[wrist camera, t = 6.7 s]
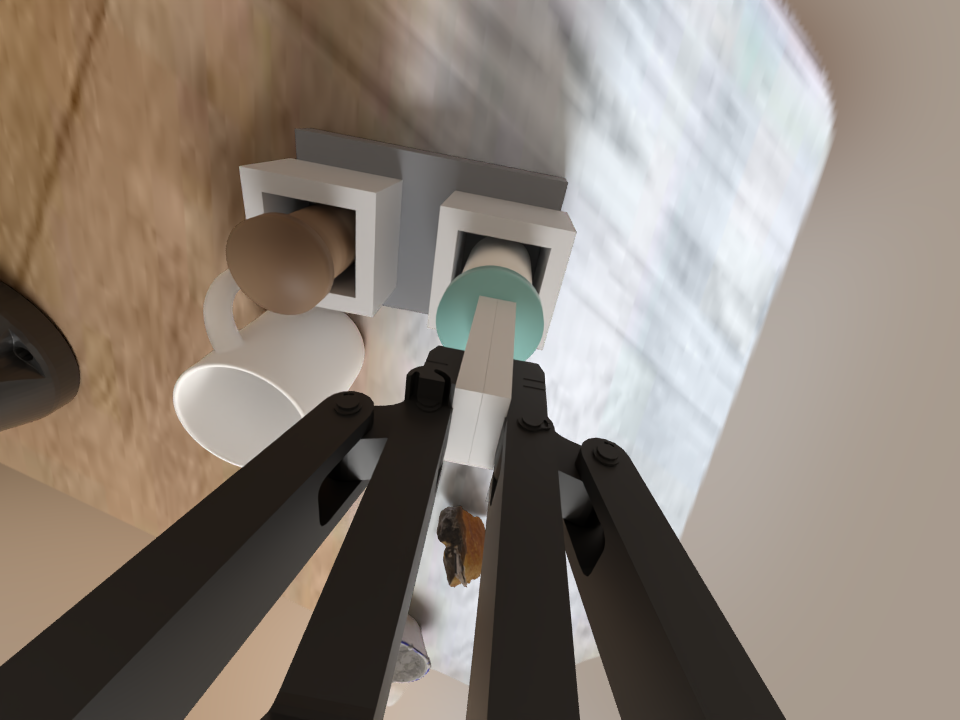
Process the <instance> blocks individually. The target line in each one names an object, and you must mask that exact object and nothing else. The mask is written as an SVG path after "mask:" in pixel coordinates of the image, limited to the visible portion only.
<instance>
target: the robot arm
mask: <svg viewBox="0 0 960 720" xmlns="http://www.w3.org/2000/svg"><path fill="white" fill-rule="evenodd" d="M515 319H516V303H515V302H510V301H505V300H500V299H495V298H490V297H485V296H479V300H478V303H477V307H476V311H475V315H474V318H473V322H472V326H471V330H470V333H469V337H468V341H467V345H466V348H465V351H464V350H459V349H454V348H449V347H444V346H437V347H436V348H434V349H433V350H431V351H430V352H429V355H428V357H427V359H426V362H425V364H424V366H420V367H416V368H414V369H412V370H410V372H409V373H408V374H407V377H406V389H405V400H404V401H403V402H401V403H398V404H395V405H387V406H374V402H373V401H372V400H371V398H370V397H368V396H367V395H365V394H363V393H359V392H355V391H343V392H339V393H335V394H333V395H331V396H329V397H327V398H326V399H325V400H323V401H322V402H321V403H320V404H319V405H317V406H316V407H315V408H314V409H313V410H311V411H310V412H309V413H308V414H306V415H305V416H304V417H303V418H302V419H300V420H299V421H298V422H297V423H296V424H294V425H293V426H292V427H291V428H289V429H288V430H287V431H286V432H285V433H283V434H282V435H281V436H280V437H279V438H277V439H276V440H275V441H274V442H272V443H271V444H270V445H269V446H268V447H266V448H265V449H264V450H263V451H262V452H260V453H259V454H258V455H257V456H255V457H254V458H253V459H252V460H251V461H249V462H248V463H247V464H246V465H245V466H243V467H242V468H241V469H240V470H238V471H237V472H236V473H235V474H234V475H232V476H231V477H230V478H229V479H227V480H226V481H225V482H224V483H223V484H221V485H220V486H219V487H218V488H217V489H215V490H214V491H213V492H212V493H210V494H209V495H208V496H207V497H206V498H204V499H203V500H202V501H201V502H200V503H198V504H197V505H196V506H195V507H193V508H192V509H191V510H190V511H189V512H187V513H186V514H185V515H184V516H183V517H181V518H180V519H179V520H178V521H176V522H175V523H174V524H173V525H172V526H170V527H169V528H168V529H167V530H166V531H164V532H163V533H162V534H161V535H159V536H158V537H157V538H156V539H155V540H154V541H152V542H151V543H150V544H149V545H147V546H146V547H145V548H144V549H142V550H141V551H140V552H139V553H138V554H136V555H135V556H134V557H133V558H132V559H130V560H129V561H128V562H127V563H125V564H124V565H123V566H122V567H121V568H120V569H118V570H117V571H116V572H115V573H113V574H112V575H111V576H110V577H108V578H107V579H106V580H105V581H104V582H102V583H101V584H100V585H99V586H98V587H96V588H95V589H94V590H93V591H92V592H90V593H89V594H88V595H87V596H85V597H84V598H83V599H82V600H81V601H79V602H78V603H77V604H76V605H74V607H72V608H71V609H70V610H68V611H67V612H66V613H65V614H63V615H62V616H61V617H60V618H59V619H57V620H56V621H55V622H54V623H53V624H51V625H50V626H49V627H48V628H46V629H45V630H44V631H43V632H42V633H40V634H39V635H38V636H37V637H36V638H34V639H33V640H32V641H31V642H29V643H28V644H27V645H26V646H25V647H23V648H22V649H21V650H20V651H19V652H17V653H16V654H15V655H14V656H13V657H11V658H10V659H9V660H8V661H6V662H5V663H4V664H3V665H2V666H0V720H184V718H185V717H186V716H187V715H188V713H189V712H190V711H191V709H192V708H193V707H194V706H195V704H196V703H197V702H198V701H199V699H200V698H201V697H202V696H203V694H204V693H205V692H206V690H207V689H208V688H209V687H210V685H211V684H212V683H213V681H214V680H215V679H216V678H217V676H218V675H219V674H220V673H221V671H222V670H223V669H224V667H225V666H226V665H227V664H228V662H229V661H230V660H231V658H232V657H233V656H234V655H235V653H236V652H237V651H238V650H239V648H240V647H241V646H242V644H243V643H244V642H245V641H246V639H247V638H248V637H249V636H250V634H251V633H252V632H253V631H254V629H255V628H256V627H257V625H258V624H259V623H260V622H261V620H262V619H263V618H264V616H265V615H266V614H267V613H268V611H269V610H270V609H271V608H272V606H273V605H274V604H275V603H276V601H277V600H278V599H279V597H280V596H281V595H282V594H283V592H284V591H285V590H286V588H287V587H288V586H289V585H290V583H291V582H292V581H293V580H294V578H295V577H296V576H297V574H298V573H299V572H300V571H301V569H302V568H303V567H304V566H305V564H306V563H307V562H308V560H309V559H310V558H311V557H312V555H313V554H314V553H315V552H316V550H317V549H318V548H319V546H320V545H321V544H322V543H323V541H324V540H325V539H326V538H327V536H328V535H329V534H330V532H331V531H332V530H333V529H334V527H335V526H336V525H337V524H338V522H339V521H340V520H341V518H342V517H343V516H344V515H345V513H346V512H347V511H348V510H349V508H350V507H351V506H352V504H353V503H354V502H355V501H356V499H357V498H358V497H359V496H360V494H361V493H362V492H363V490H364V489H365V488H366V487H367V488H366V490H365V493H364V495H363V497H362V500H361V502H360V504H359V507H358V509H357V511H356V514H355V516H354V518H353V521H352V523H351V525H350V528H349V530H348V532H347V535H346V537H345V539H344V542H343V544H342V546H341V549H340V551H339V553H338V556H337V558H336V560H335V563H334V565H333V567H332V569H331V572H330V574H329V576H328V579H327V581H326V583H325V586H324V588H323V590H322V593H321V595H320V597H319V600H318V602H317V604H316V607H315V609H314V611H313V614H312V616H311V619H310V621H309V623H308V626H307V628H306V630H305V632H304V635H303V637H302V639H301V642H300V644H299V646H298V649H297V651H296V653H295V656H294V658H293V660H292V663H291V665H290V667H289V670H288V672H287V674H286V677H285V679H284V681H283V684H282V686H281V688H280V691H279V693H278V695H277V697H276V699H275V701H274V703H273V705H272V706H271V708H270V710H269V711H268V712H267V714H265V715H264V716H263V717H262V718H261V719H260V720H383V717H384V713H385V709H386V704H387V700H388V696H389V692H390V687H391V683H392V679H393V675H394V671H395V666H396V662H397V658H398V654H399V649H400V645H401V641H402V637H403V632H404V628H405V624H406V620H407V615H408V611H409V607H410V603H411V598H412V594H413V590H414V586H415V582H416V577H417V573H418V569H419V565H420V560H421V556H422V552H423V548H424V543H425V539H426V535H427V531H428V526H429V522H430V518H431V514H432V509H433V505H434V501H435V497H436V493H437V488H438V484H439V480H440V476H441V470H442V464H443V461H448V462H454V463H459V464H464V465H469V466H474V467H479V468H484V469H489V470H493V466H494V472H493V476H492V479H491V483H490V487H489V491H488V494H487V498H486V501H487V502H488V511H487V521H486V530H485V540H484V550H483V559H482V569H481V578H480V588H479V598H478V607H477V617H476V627H475V636H474V646H473V656H472V665H471V675H470V685H469V694H468V704H467V714H466V720H580V715H579V703H578V693H577V681H576V669H575V658H574V646H573V635H572V623H571V612H570V600H569V589H568V577H567V566H566V554H567V557H568V560H569V563H570V566H571V569H572V572H573V575H574V578H575V581H576V584H577V587H578V590H579V593H580V596H581V599H582V602H583V605H584V608H585V611H586V614H587V617H588V620H589V623H590V626H591V629H592V632H593V635H594V638H595V642H596V645H597V648H598V651H599V654H600V657H601V659H602V663H603V666H604V669H605V672H606V675H607V678H608V681H609V684H610V687H611V690H612V692H613V696H614V699H615V702H616V705H617V708H618V711H619V714H620V717H621V720H786V719H785V717H784V715H783V714H782V712H781V710H780V709H779V707H778V705H777V704H776V702H775V700H774V698H773V697H772V695H771V694H770V692H769V690H768V688H767V687H766V685H765V683H764V682H763V680H762V678H761V677H760V675H759V673H758V672H757V670H756V668H755V667H754V665H753V663H752V662H751V660H750V658H749V657H748V655H747V653H746V652H745V650H744V648H743V647H742V645H741V643H740V642H739V640H738V638H737V637H736V635H735V634H734V632H733V630H732V628H731V627H730V625H729V623H728V621H727V620H726V618H725V616H724V615H723V613H722V611H721V610H720V608H719V607H718V605H717V603H716V601H715V600H714V598H713V597H712V595H711V593H710V591H709V590H708V588H707V586H706V585H705V583H704V581H703V580H702V578H701V576H700V575H699V573H698V571H697V570H696V568H695V566H694V565H693V563H692V561H691V560H690V558H689V556H688V555H687V553H686V551H685V550H684V548H683V546H682V544H681V543H680V541H679V539H678V538H677V536H676V534H675V533H674V531H673V529H672V528H671V526H670V524H669V523H668V521H667V519H666V518H665V516H664V514H663V513H662V511H661V509H660V508H659V506H658V504H657V503H656V501H655V499H654V498H653V496H652V494H651V493H650V491H649V489H648V488H647V486H646V484H645V482H644V481H643V479H642V477H641V476H640V474H639V472H638V471H637V469H636V467H635V466H634V464H633V462H632V461H631V459H630V457H629V456H628V455H627V453H626V452H625V451H624V450H623V449H622V448H621V447H619V446H618V445H616V444H615V443H613V442H611V441H608V440H606V439H601V438H591V439H587V440H586V441H584V442H583V443H582V446H581V445H579V444H576V443H574V442H572V441H569V440H567V439H565V438H564V437H562V436H560V435H559V434H558V433H556V432H555V428H554V425H553V423H552V421H551V420H550V419H549V418H548V414H547V401H546V391H545V390H546V387H545V373H544V372H543V370H542V369H541V367H540V366H539V365H538V364H536V363H531V362H525V361H520V360H515V359H513V356H514V337H515ZM79 384H80V375H79V369H78V366H77V363H76V360H75V357H74V355H73V353H72V351H71V349H70V348H69V346H68V344H67V343H66V341H65V340H64V338H63V337H62V335H61V334H60V333H59V331H58V330H57V329H56V328H55V327H54V325H53V324H52V323H51V322H50V321H49V320H48V319H47V318H46V317H45V316H44V315H43V314H42V313H41V312H40V311H39V310H38V309H37V308H36V307H35V306H34V305H32V304H31V303H30V302H29V301H28V300H26V299H25V298H24V297H23V296H21V295H20V294H19V293H17V292H16V291H15V290H13V289H12V288H10V287H9V286H7V285H5V284H4V283H2V282H1V281H0V431H3V430H7V429H10V428H13V427H17V426H20V425H23V424H26V423H29V422H33V421H36V420H39V419H41V418H43V417H46V416H48V415H49V414H51V413H53V412H54V411H56V410H57V409H59V408H61V407H62V406H64V405H66V404H67V403H69V402H70V401H71V400H72V399H73V398H74V397H75V396H76V394H77V392H78V389H79ZM367 485H368V486H367ZM565 551H566V554H565Z"/></svg>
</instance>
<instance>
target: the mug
mask: <svg viewBox="0 0 960 720" xmlns="http://www.w3.org/2000/svg"><path fill="white" fill-rule="evenodd" d="M239 290H240V288H239V286H238V285H237V284H236V282H235V280H234V279H233V277H232V275H231V273H230V270H229V269H227V270H225V271H224V272H222V273H220V274H219V275H218V276H217V277H216V278H215V279H214V281H213V282H212V284H211V285H210V287H209V289H208V291H207V294H206V296H205V301H204V311H203V315H204V323H205V327H206V331H207V334H208V337H209V340H210V342H211V345H212V347H213V349H214V350H213V351H212V352H210V353H209V354H208V355H206V356H205V357H204V358H202V359H201V360H200V361H198V362H197V363H196V364H194V365H193V366H191V367H190V368H188V369H187V370H186V371H185V372H183V373H182V374H181V376H180V377H179V378H178V380H177V382H176V384H175V386H174V391H173V403H174V408H175V411H176V414H177V416H178V418H179V420H180V422H181V423H182V425H183V427H184V428H185V429H186V431H187V432H188V433H189V434H190V435H191V436H192V437H193V438H194V440H195V441H197V442H198V443H199V444H200V445H201V446H202V447H204V448H205V449H206V450H208V451H209V452H211V453H212V454H214V455H215V456H217V457H219V458H221V459H223V460H225V461H227V462H229V463H231V464H234V465H237V466H240V467H243V466H245V465H246V464H247V463H248V462H249V461H251V460H252V459H253V458H254V457H255V456H257V455H258V454H259V453H260V452H262V451H263V450H264V449H265V448H266V447H268V446H269V445H270V444H271V443H272V442H274V441H275V440H276V439H277V438H279V437H280V436H281V435H282V434H283V433H285V432H286V431H287V430H288V429H289V428H291V427H292V426H293V425H294V424H296V423H297V422H298V421H299V420H300V419H302V418H303V417H304V416H305V415H306V414H308V413H309V412H310V411H311V410H313V409H314V408H315V407H316V406H317V405H319V404H320V403H321V402H322V401H323V400H325V399H326V398H327V397H329V396H331V395H333V394H335V393H339V392H343V391H348V390H349V388H350V387H351V385H352V384H353V382H354V380H355V379H356V377H357V376H358V374H359V372H360V370H361V368H362V365H363V362H364V356H365V349H364V343H363V339H362V336H361V334H360V332H359V330H358V328H357V326H356V325H355V324H354V322H353V321H352V320H351V319H350V318H349V317H348V316H347V315H346V314H345V313H344V312H342V311H337V310H332V309H327V308H322V307H317V306H315V307H314V308H312V309H311V310H309V311H307V312H305V313H302V314H298V315H283V314H278V313H274V312H271V311H269V310H267V311H266V312H264V313H263V314H262V315H260V316H259V317H258V318H257V319H255V320H254V321H252V322H251V323H249V324H248V325H247V326H245V327H244V328H243V329H241V330H240V331H238V329H237V327H236V324H235V321H234V318H233V310H232V306H233V300H234V298H235V295H236V293H237V292H238V291H239Z"/></svg>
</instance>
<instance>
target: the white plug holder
mask: <svg viewBox="0 0 960 720" xmlns="http://www.w3.org/2000/svg"><path fill="white" fill-rule="evenodd" d="M295 140H296V155H297V159H293V158H287V159H281V160H275V161H268V162H262V163H256V164H249V165H243V166H239V170H240V178H241V185H242V192H243V200H244V207H245V214H246V219H249V218H252V217H255V216H258V215H260V214H263V213H269V212H278V213H284V214H290V213H292V212H295V211H297V210H300V209H302V208H305V207H307V206H310V205H313V204H315V203H322V204H327V205H332V206H337V207H342V208H347V209H352V210H356V261H355V262H354V263H353V264H351V265H350V266H349V267H348V268H347V269H345V270H344V271H343V272H342V273H341V274H339V275H338V276H337V277H336V278H335V279H334V281H333V285H332V288H331V290H330V292H329V293H328V294H327V296H326V297H325V298H324V299H323V300H322V301H320V302H319V303H318V304H317V305H316V306H317V307H322V308H327V309H332V310H337V311H342V312H348V313H353V314H358V315H363V316H368V317H373V316H374V315H375V314H376V312H377V311H378V310H379V308H380V307H381V306H382V305H383V306H388V307H393V308H398V309H404V310H409V311H414V312H419V313H424V314H429V315H428V324H427V328H430V329H435V330H437V329H436V313H437V308H438V306H439V303H440V301H441V298H442V296H443V294H444V292H445V290H446V288H447V287H448V286H449V284H450V283H451V282H452V281H453V280H454V279H455V278H456V277H457V276H459V275H460V274H462V272H463V269H464V267H465V264H466V262H467V259H468V257H469V254H470V252H471V250H472V249H473V247H474V246H475V245H476V244H477V243H478V242H479V241H480V240H482V239H483V238H485V237H488V236H490V237H495V238H500V239H506V240H511V241H516V242H521V243H522V244H523V245H524V247H525V248H526V249H527V251H528V253H529V256H530V260H531V271H532V285H533V287H534V288H535V289H536V291H537V293H538V295H539V297H540V300H541V303H542V308H543V317H544V330H543V335H542V338H541V341H540V343H539V345H538V347H537V349H538V350H543V347H544V343H545V340H546V336H547V333H548V329H549V326H550V322H551V319H552V316H553V312H554V309H555V305H556V302H557V298H558V295H559V291H560V288H561V285H562V281H563V278H564V274H565V271H566V267H567V264H568V261H569V257H570V254H571V250H572V247H573V243H574V240H575V236H576V233H577V232H576V230H575V228H574V226H573V224H572V221H571V219H570V217H569V215H568V213H567V212H563V211H561V208H562V204H563V200H564V196H565V192H566V189H567V185H568V182H567V180H566V179H565V178H561V177H556V176H551V175H546V174H541V173H536V172H531V171H526V170H521V169H516V168H511V167H506V166H500V165H495V164H490V163H485V162H480V161H475V160H470V159H465V158H460V157H455V156H450V155H445V154H439V153H434V152H429V151H424V150H419V149H414V148H409V147H404V146H399V145H394V144H389V143H384V142H379V141H373V140H368V139H363V138H358V137H353V136H348V135H343V134H338V133H333V132H328V131H323V130H318V129H312V128H300V129H295Z"/></svg>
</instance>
